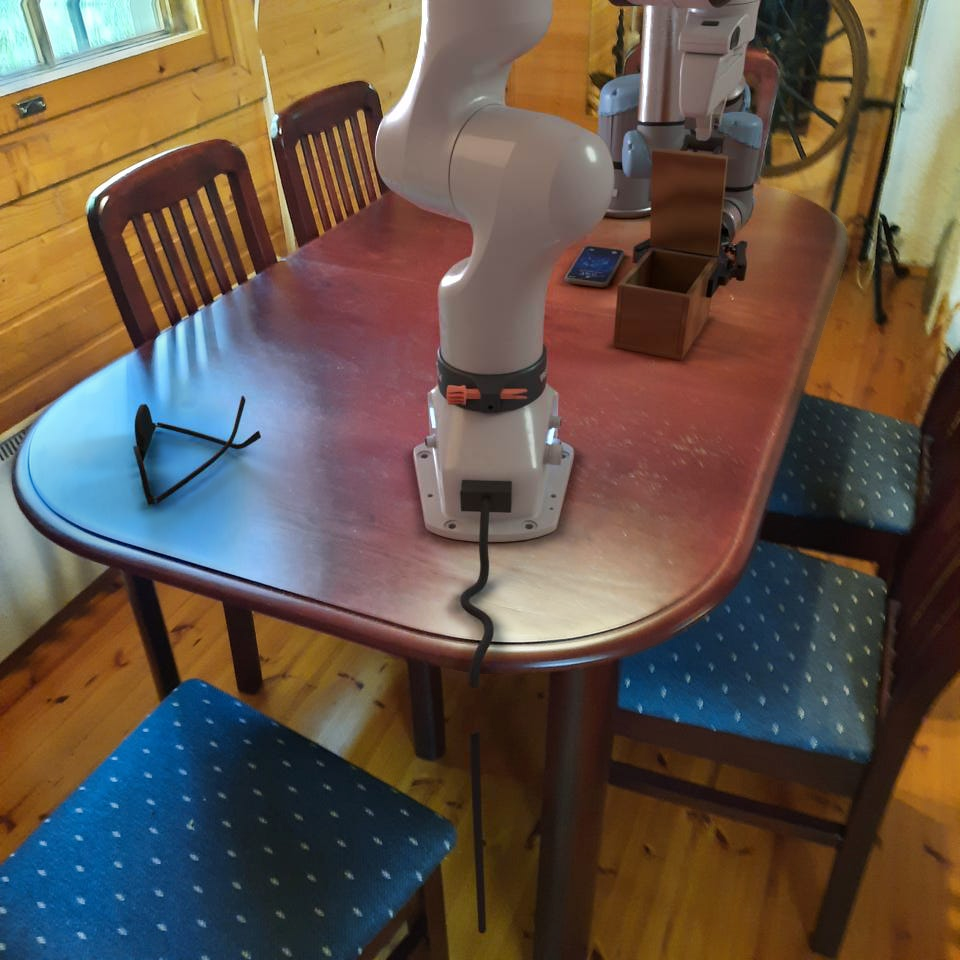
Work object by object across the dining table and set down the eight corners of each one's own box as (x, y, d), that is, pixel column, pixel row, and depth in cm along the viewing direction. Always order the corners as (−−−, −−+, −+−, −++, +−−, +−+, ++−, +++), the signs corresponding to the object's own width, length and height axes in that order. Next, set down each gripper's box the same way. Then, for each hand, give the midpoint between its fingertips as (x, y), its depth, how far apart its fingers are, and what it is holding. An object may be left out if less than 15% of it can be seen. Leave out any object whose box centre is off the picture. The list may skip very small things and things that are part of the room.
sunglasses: (270, 486, 97) (262, 449, 94) (137, 510, 94) (125, 474, 91) (257, 411, 110) (250, 377, 107) (140, 430, 107) (130, 396, 104)
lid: (726, 159, 111) (744, 125, 116) (652, 150, 115) (672, 118, 120) (717, 256, 122) (733, 222, 127) (649, 246, 126) (668, 212, 131)
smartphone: (626, 249, 148) (607, 284, 137) (625, 255, 149) (607, 289, 137) (584, 244, 150) (562, 278, 139) (584, 249, 151) (562, 283, 139)
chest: (681, 360, 118) (690, 296, 113) (612, 346, 122) (617, 284, 116) (708, 318, 129) (717, 258, 123) (644, 306, 132) (650, 247, 127)
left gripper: (717, 7, 120) (705, 110, 128) (674, 39, 106) (664, 153, 114) (763, 9, 117) (748, 114, 126) (725, 42, 103) (711, 158, 112)
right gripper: (778, 263, 138) (747, 320, 122) (643, 242, 146) (597, 293, 130) (787, 218, 133) (756, 270, 117) (647, 199, 141) (600, 245, 126)
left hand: (708, 133), depth 120 cm, fingers open, 4 cm apart
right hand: (673, 282), depth 124 cm, fingers closed on chest, 10 cm apart
